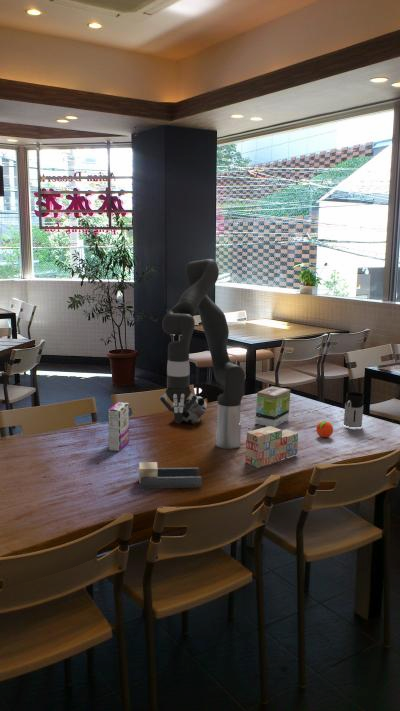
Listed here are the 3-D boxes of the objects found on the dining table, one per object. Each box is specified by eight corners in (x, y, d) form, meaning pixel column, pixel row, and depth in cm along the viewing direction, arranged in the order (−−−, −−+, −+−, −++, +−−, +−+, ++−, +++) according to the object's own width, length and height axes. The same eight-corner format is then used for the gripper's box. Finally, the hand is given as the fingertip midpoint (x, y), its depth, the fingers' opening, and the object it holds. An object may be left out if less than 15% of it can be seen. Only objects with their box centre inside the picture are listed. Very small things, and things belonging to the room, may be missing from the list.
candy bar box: (117, 441, 243) (117, 401, 240) (129, 442, 242) (129, 402, 239) (107, 450, 232) (107, 409, 229) (120, 451, 231) (120, 410, 228)
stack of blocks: (285, 451, 237) (287, 421, 235) (297, 456, 232) (299, 425, 230) (245, 463, 224) (246, 431, 222) (256, 468, 219) (258, 436, 217)
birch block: (156, 475, 206) (156, 462, 205) (157, 483, 201) (157, 468, 200) (139, 476, 206) (139, 462, 205) (139, 483, 200) (139, 469, 199)
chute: (198, 477, 210) (198, 467, 209) (201, 487, 201) (201, 477, 200) (140, 478, 207) (140, 468, 207) (140, 488, 199) (140, 478, 198)
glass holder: (365, 426, 272) (368, 393, 269) (354, 434, 260) (357, 400, 257) (346, 422, 276) (348, 390, 273) (335, 430, 264) (337, 397, 261)
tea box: (275, 428, 265) (276, 395, 262) (254, 424, 270) (256, 391, 267) (289, 420, 278) (291, 388, 275) (269, 416, 283) (270, 385, 280)
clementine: (326, 442, 249) (328, 425, 248) (311, 438, 253) (312, 421, 252) (335, 437, 256) (336, 421, 254) (320, 433, 260) (321, 417, 258)
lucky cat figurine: (180, 414, 281) (195, 388, 280) (200, 428, 277) (216, 402, 276) (167, 413, 267) (183, 386, 266) (188, 428, 263) (204, 400, 262)
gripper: (196, 369, 207) (196, 418, 210) (157, 370, 205) (157, 419, 209) (199, 375, 199) (199, 425, 203) (159, 376, 198) (159, 426, 201)
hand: (178, 422), depth 206 cm, fingers closed
